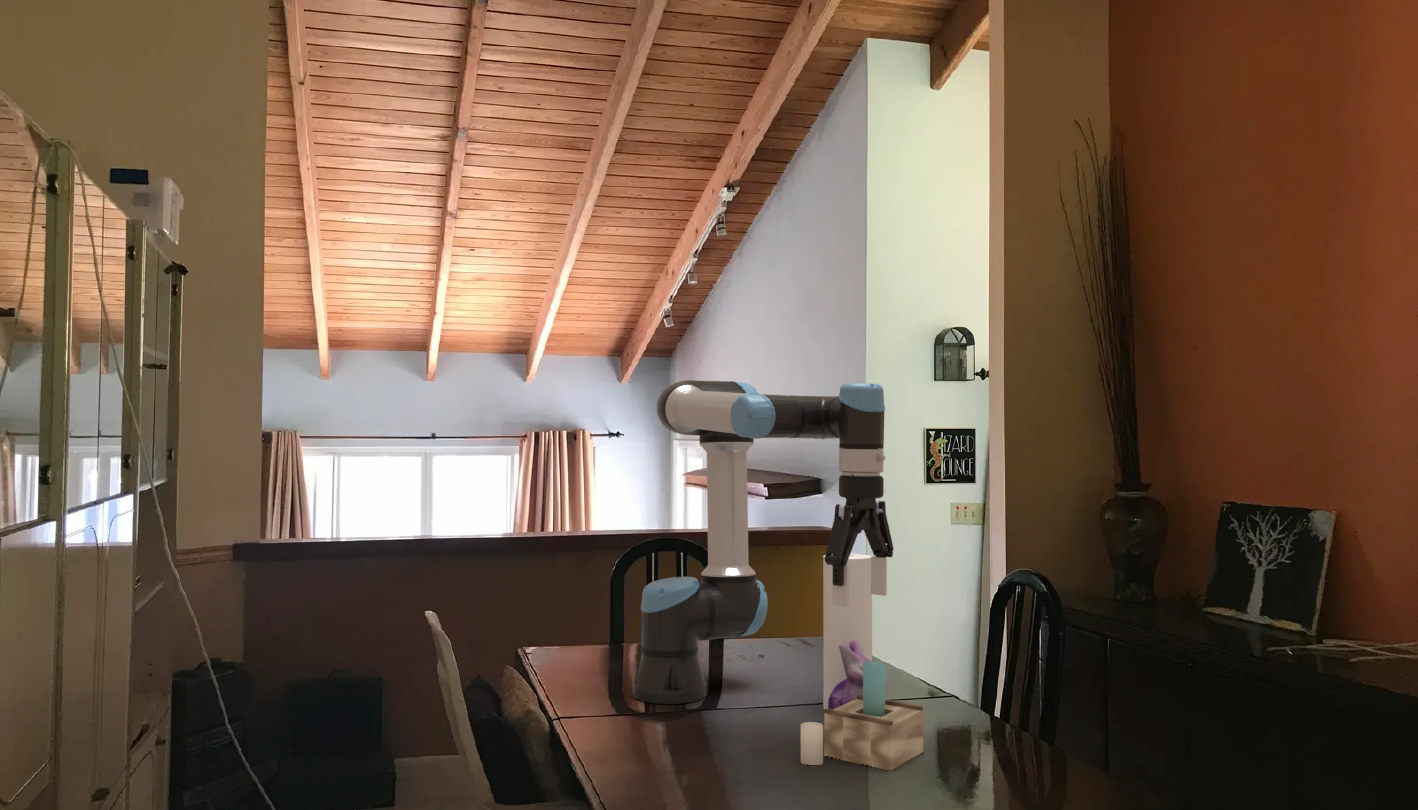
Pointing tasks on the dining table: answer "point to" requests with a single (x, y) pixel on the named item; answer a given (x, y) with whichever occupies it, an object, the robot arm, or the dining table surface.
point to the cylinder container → (846, 620)
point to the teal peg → (874, 688)
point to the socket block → (874, 734)
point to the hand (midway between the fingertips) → (860, 600)
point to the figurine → (849, 676)
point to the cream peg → (812, 743)
